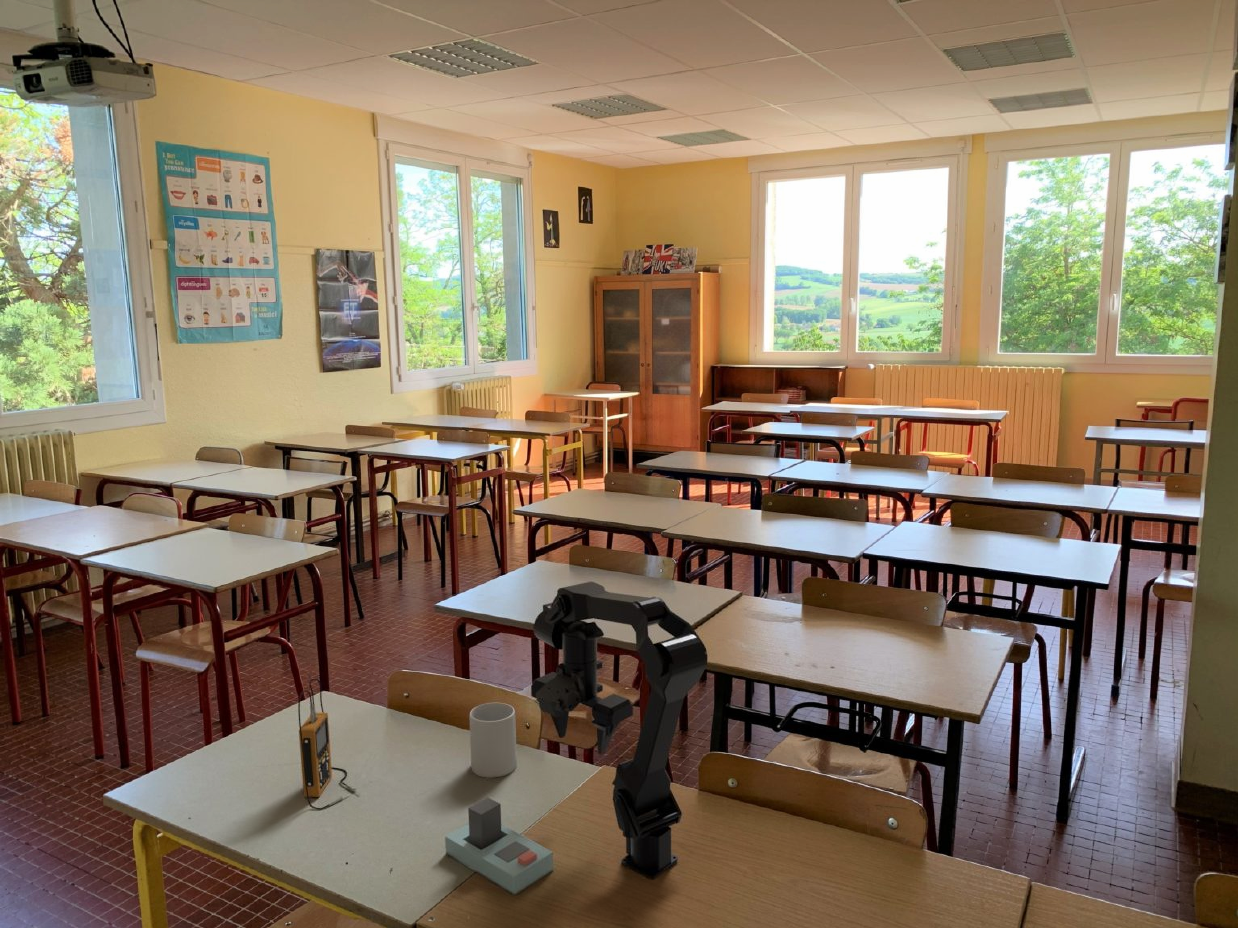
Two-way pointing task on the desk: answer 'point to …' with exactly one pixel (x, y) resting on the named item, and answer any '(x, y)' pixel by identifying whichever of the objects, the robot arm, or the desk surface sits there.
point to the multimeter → (316, 752)
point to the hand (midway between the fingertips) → (581, 745)
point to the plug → (485, 823)
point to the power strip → (502, 858)
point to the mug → (493, 740)
